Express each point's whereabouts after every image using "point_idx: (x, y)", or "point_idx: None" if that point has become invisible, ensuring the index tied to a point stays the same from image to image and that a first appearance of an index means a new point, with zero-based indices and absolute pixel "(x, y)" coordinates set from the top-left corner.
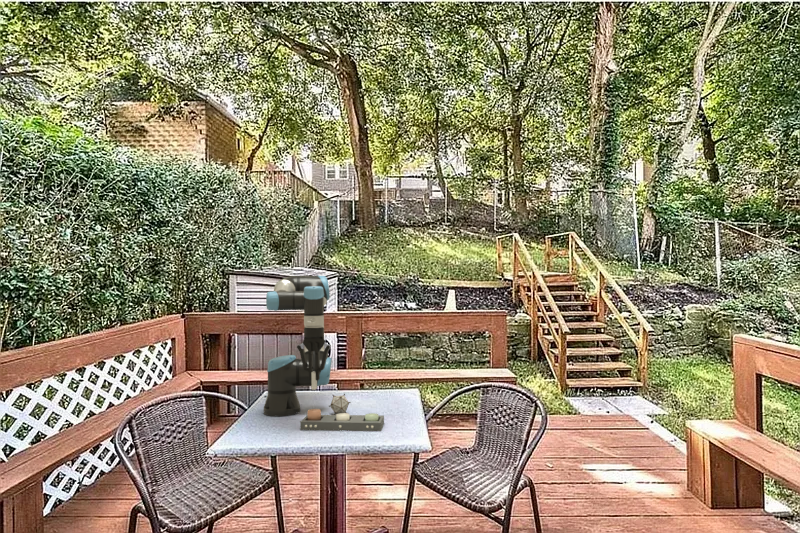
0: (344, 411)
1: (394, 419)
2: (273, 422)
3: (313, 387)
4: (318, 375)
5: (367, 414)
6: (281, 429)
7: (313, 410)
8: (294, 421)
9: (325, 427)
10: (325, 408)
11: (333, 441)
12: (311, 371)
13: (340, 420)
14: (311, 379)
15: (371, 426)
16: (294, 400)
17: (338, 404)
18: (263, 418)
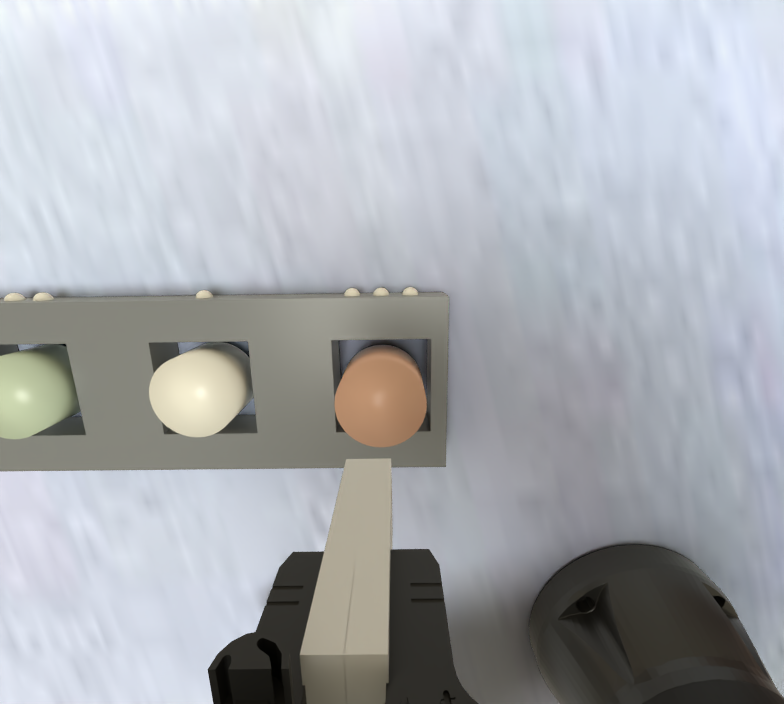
0: None
1: (4, 521)
2: (627, 436)
3: (366, 471)
4: (266, 619)
5: (36, 409)
6: (553, 300)
7: (385, 402)
8: (516, 461)
9: (294, 295)
10: None
11: (183, 60)
12: (397, 698)
13: (207, 350)
14: (397, 559)
15: (14, 294)
16: (580, 667)
17: None
18: (697, 508)
